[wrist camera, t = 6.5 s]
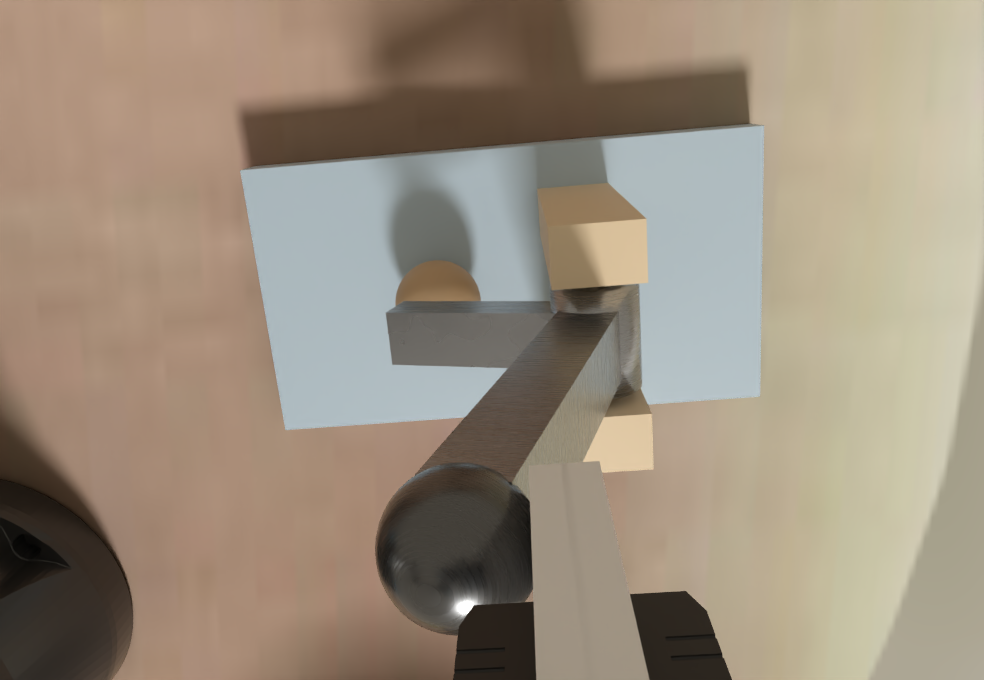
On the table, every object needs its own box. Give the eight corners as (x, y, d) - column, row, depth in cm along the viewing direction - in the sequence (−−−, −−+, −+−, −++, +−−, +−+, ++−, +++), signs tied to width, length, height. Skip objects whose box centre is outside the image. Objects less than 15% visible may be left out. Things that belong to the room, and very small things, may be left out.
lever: (419, 364, 32) (109, 626, 17) (408, 275, 31) (68, 472, 16) (650, 371, 29) (523, 695, 14) (648, 273, 28) (506, 512, 13)
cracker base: (296, 413, 39) (209, 545, 28) (254, 166, 36) (135, 201, 24) (747, 381, 38) (848, 504, 27) (750, 123, 35) (867, 139, 23)
